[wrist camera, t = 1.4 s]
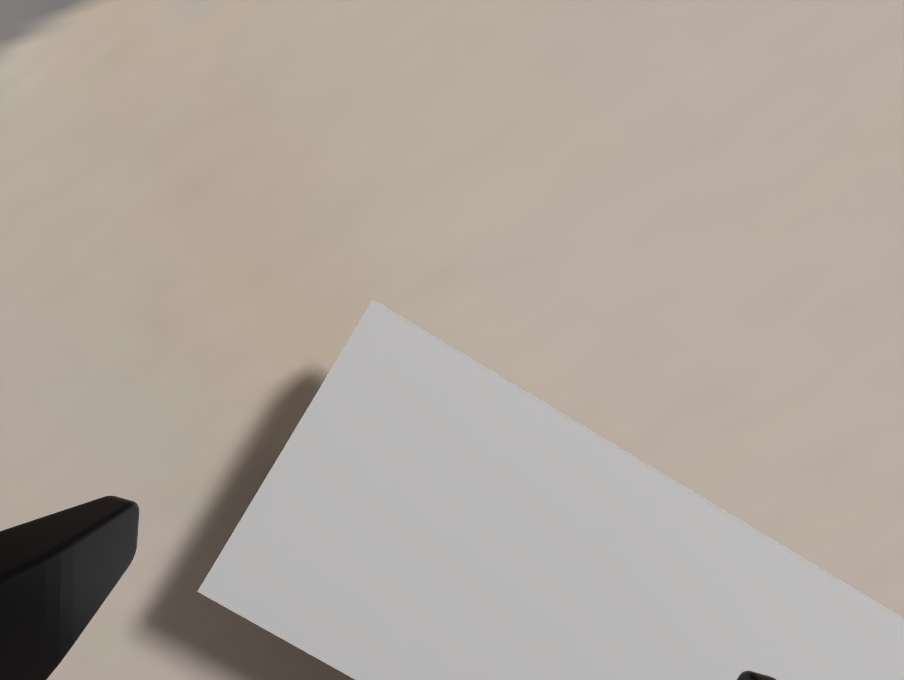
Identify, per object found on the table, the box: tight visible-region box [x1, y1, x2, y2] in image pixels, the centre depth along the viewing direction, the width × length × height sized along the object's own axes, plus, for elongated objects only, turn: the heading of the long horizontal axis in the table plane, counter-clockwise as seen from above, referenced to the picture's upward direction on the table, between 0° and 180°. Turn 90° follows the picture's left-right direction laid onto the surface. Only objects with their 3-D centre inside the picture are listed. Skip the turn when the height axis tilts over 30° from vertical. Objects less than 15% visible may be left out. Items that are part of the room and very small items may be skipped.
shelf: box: [197, 300, 904, 680], centre depth 22 cm, size 12×30×5 cm, turn 59°
